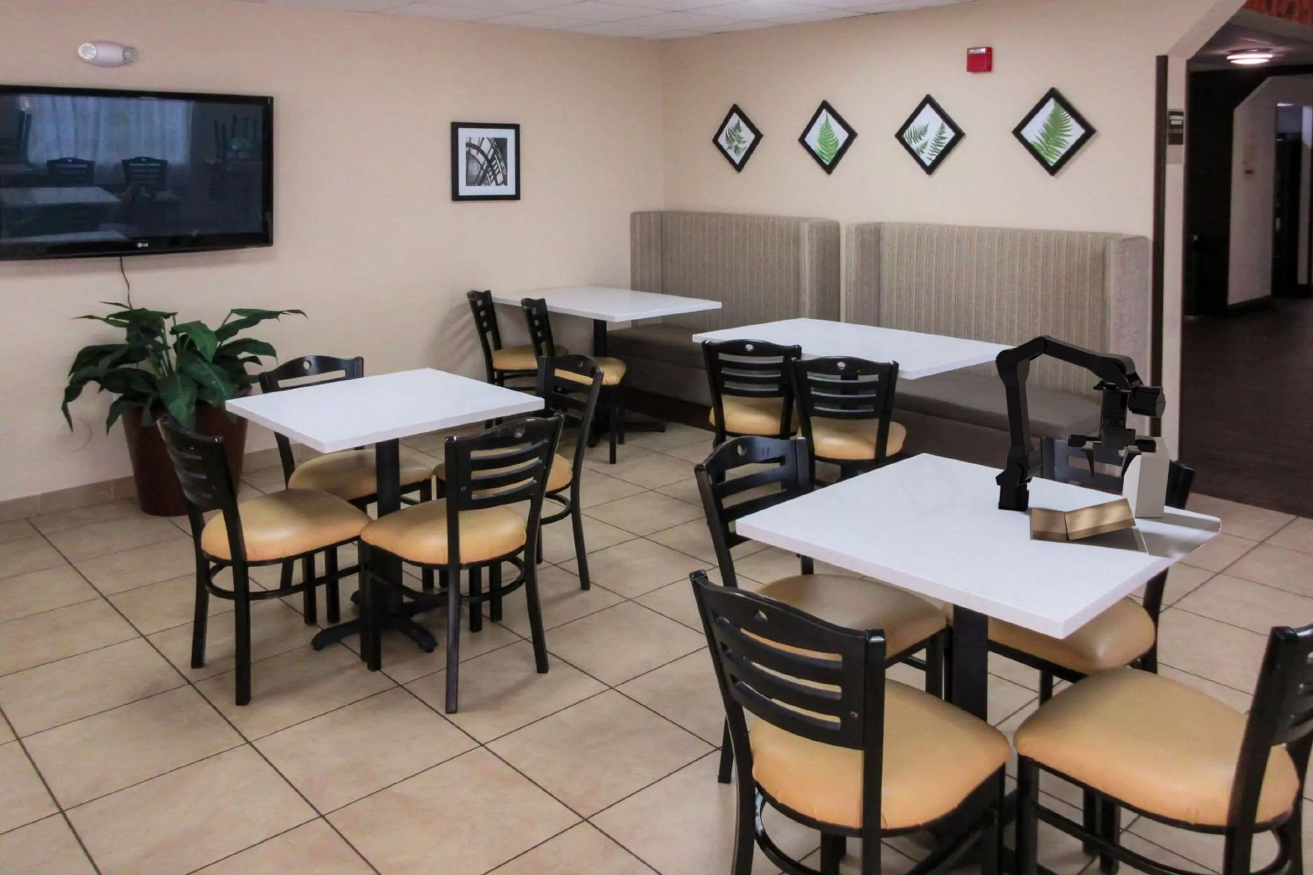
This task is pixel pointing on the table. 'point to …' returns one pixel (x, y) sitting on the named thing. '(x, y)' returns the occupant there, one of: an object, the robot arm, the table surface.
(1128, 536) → the underlay mat
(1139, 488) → the milk carton
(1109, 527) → the oak plank
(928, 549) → the table surface
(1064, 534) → the walnut plank
